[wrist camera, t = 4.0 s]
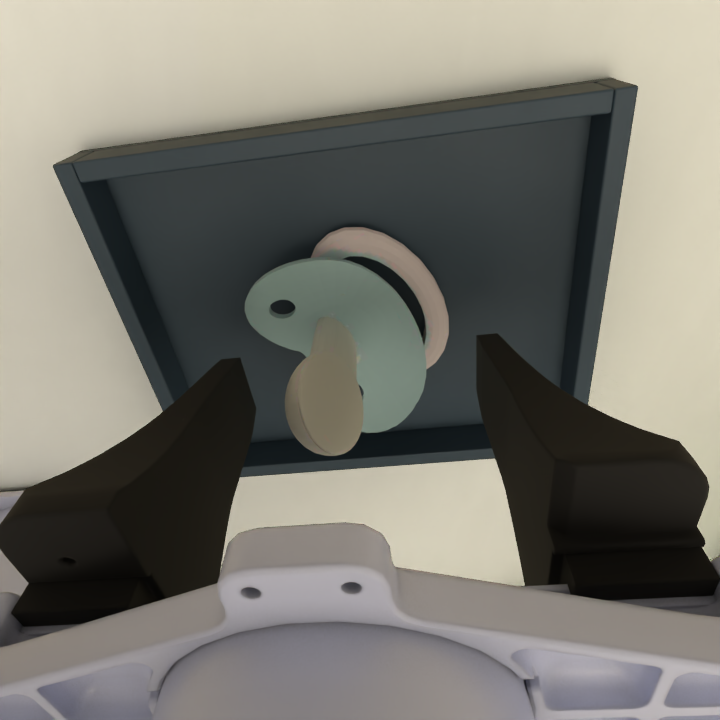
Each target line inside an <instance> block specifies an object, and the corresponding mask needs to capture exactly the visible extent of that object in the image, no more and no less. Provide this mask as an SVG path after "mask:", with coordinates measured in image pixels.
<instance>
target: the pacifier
mask: <svg viewBox="0 0 720 720" xmlns="http://www.w3.org/2000/svg"><path fill="white" fill-rule="evenodd" d="M349 256H363V257H367V258H370V259H373V260H376V261H378V262H380V263H382V264H384V265H385V266H387V267H389V268H391V269H392V270H393V271H394V272H395V273H397V274H398V275H399V276H400V277H401V278H402V279H403V280H404V281H405V282H406V283H407V285H408V286H409V287H410V288H411V290H412V291H413V292H414V294H415V296H416V298H417V299H418V301H419V303H420V305H421V307H422V310H423V314H424V318H425V329H424V333H423V338H422V337H421V334H420V331H419V328H418V326H417V324H416V321H415V319H414V317H413V315H412V314H411V312H410V310H409V308H408V307H407V305H406V304H405V302H404V301H403V299H402V298H401V297H400V295H399V294H398V293H397V292H396V291H395V289H394V288H393V287H392V286H390V285H389V284H388V283H387V282H386V281H385V280H384V279H382V278H381V277H380V276H379V275H377V274H376V273H374V272H373V271H371V270H369V269H367V268H366V267H364V266H362V265H360V264H357V263H354V262H351V261H348V260H344V258H346V257H349ZM278 300H289V301H291V302H292V303H293V304H294V305H295V310H294V311H292V312H291V313H289V314H277V313H275V312H273V311H272V309H271V307H270V305H271V304H272V303H273V302H275V301H278ZM245 313H246V316H247V319H248V321H249V323H250V324H251V326H252V327H253V328H254V329H255V330H256V331H257V332H258V333H259V334H261V335H262V336H264V337H265V338H267V339H268V340H270V341H272V342H274V343H276V344H278V345H280V346H283V347H285V348H288V349H290V350H294V351H300V352H301V353H303V354H304V355H305V356H306V358H305V359H304V360H303V361H302V362H301V363H300V364H299V365H298V366H297V368H296V369H295V371H294V372H293V374H292V375H291V377H290V380H289V382H288V385H287V389H286V394H285V412H286V418H287V421H288V424H289V427H290V429H291V431H292V433H293V434H294V436H295V437H296V438H297V440H298V441H299V442H300V443H301V444H302V445H303V446H304V447H306V448H307V449H309V450H311V451H312V452H314V453H317V454H321V455H324V456H337V455H341V454H344V453H346V452H348V451H349V450H351V449H352V448H353V446H354V445H355V444H356V442H357V441H358V439H359V436H360V434H361V432H366V433H378V432H382V431H386V430H389V429H390V428H392V427H395V426H397V425H398V424H399V423H401V422H402V421H403V420H404V419H406V417H407V416H408V415H409V414H410V413H411V412H412V411H413V409H414V407H415V405H416V403H417V402H418V401H419V399H420V396H421V394H422V392H423V390H424V385H425V380H426V369H428V368H429V367H431V366H432V365H433V364H435V363H436V362H437V360H438V359H439V357H440V356H441V354H442V353H443V351H444V350H445V346H446V342H447V339H448V335H449V316H448V312H447V308H446V304H445V300H444V297H443V295H442V293H441V291H440V289H439V287H438V285H437V283H436V281H435V278H434V277H433V276H432V274H431V273H430V272H429V270H428V269H427V268H426V266H425V265H424V264H423V262H422V261H421V260H420V259H419V258H418V257H417V256H416V255H415V254H413V253H412V252H411V251H410V250H409V249H408V248H407V247H406V246H404V245H403V244H402V243H400V242H398V241H397V240H395V239H393V238H391V237H390V236H388V235H386V234H384V233H382V232H378V231H375V230H371V229H368V228H364V227H344V228H341V229H339V230H336V231H334V232H331V233H328V234H327V235H326V236H325V237H324V238H323V239H322V240H321V241H320V242H319V243H318V244H317V245H316V247H315V249H314V251H313V254H312V256H311V258H308V259H301V260H297V261H293V262H289V263H286V264H284V265H281V266H279V267H277V268H275V269H273V270H271V271H269V272H268V273H266V274H264V275H263V276H262V277H261V278H260V279H259V280H257V281H256V282H255V284H254V285H253V286H252V288H251V289H250V291H249V293H248V296H247V298H246V301H245ZM358 384H359V385H360V386H361V387H362V389H363V391H364V394H363V396H362V395H361V391H360V388H359V385H358Z"/></svg>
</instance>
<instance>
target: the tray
mask: <svg viewBox="0 0 720 720" xmlns="http://www.w3.org/2000/svg"><path fill="white" fill-rule="evenodd" d="M637 90H638V86H636V85H633V84H630V83H626V82H623V81H619V80H616V79H614V78H607V79H599V80H592V81H585V82H578V83H570V84H563V85H556V86H549V87H541V88H534V89H527V90H520V91H513V92H505V93H498V94H491V95H484V96H476V97H469V98H462V99H455V100H447V101H440V102H433V103H426V104H418V105H411V106H404V107H397V108H389V109H382V110H375V111H368V112H360V113H353V114H346V115H339V116H331V117H324V118H317V119H310V120H302V121H295V122H288V123H281V124H273V125H266V126H259V127H252V128H244V129H237V130H230V131H223V132H215V133H208V134H201V135H194V136H186V137H179V138H172V139H165V140H157V141H150V142H143V143H136V144H128V145H121V146H114V147H107V148H99V149H92V150H85V151H80V152H78V153H77V154H75V155H73V156H71V157H69V158H66V159H64V160H62V161H60V162H58V163H56V164H54V165H53V168H54V170H55V173H56V175H57V177H58V179H59V182H60V184H61V186H62V188H63V190H64V193H65V195H66V197H67V199H68V201H69V204H70V206H71V208H72V210H73V213H74V215H75V217H76V219H77V221H78V224H79V226H80V228H81V230H82V232H83V235H84V237H85V239H86V241H87V244H88V246H89V248H90V250H91V252H92V255H93V257H94V259H95V261H96V264H97V266H98V268H99V270H100V272H101V275H102V277H103V279H104V281H105V283H106V286H107V288H108V290H109V292H110V295H111V297H112V299H113V301H114V303H115V306H116V308H117V310H118V312H119V315H120V317H121V319H122V321H123V323H124V326H125V328H126V330H127V332H128V334H129V337H130V339H131V341H132V343H133V346H134V348H135V350H136V352H137V354H138V357H139V359H140V361H141V363H142V366H143V368H144V370H145V372H146V374H147V377H148V379H149V381H150V383H151V385H152V388H153V390H154V392H155V394H156V397H157V399H158V401H159V403H160V405H161V408H162V410H163V411H164V410H166V409H167V408H168V407H169V406H170V405H171V404H173V403H174V402H175V401H176V400H177V399H179V398H180V397H181V396H182V395H183V394H184V393H185V392H186V391H187V390H188V389H189V388H190V387H192V386H193V385H194V384H195V383H196V382H197V381H198V380H199V379H200V378H201V377H202V376H203V375H204V374H205V373H206V372H207V371H208V370H210V369H211V368H212V367H213V366H214V365H215V364H216V363H217V362H219V361H220V360H221V359H230V358H240V359H241V362H242V365H243V368H244V371H245V374H246V377H247V381H248V384H249V387H250V390H251V393H252V396H253V400H254V403H255V406H256V414H255V422H254V428H253V434H252V438H251V442H250V445H249V449H248V452H247V455H246V459H245V462H244V465H243V468H242V471H241V475H240V477H249V476H262V475H276V474H289V473H303V472H316V471H330V470H344V469H357V468H371V467H384V466H398V465H411V464H425V463H438V462H452V461H465V460H479V459H493V458H495V456H494V453H493V450H492V447H491V444H490V441H489V438H488V435H487V432H486V429H485V426H484V423H483V420H482V416H481V411H480V407H479V401H478V396H477V391H476V335H484V334H495V333H498V334H499V335H500V336H501V337H502V338H503V339H504V340H505V341H506V342H507V343H508V344H509V345H510V346H511V347H512V348H513V349H514V350H515V351H516V352H517V353H518V354H519V355H520V356H521V357H522V358H523V359H524V360H526V361H527V362H528V363H529V364H530V365H531V366H532V367H534V368H535V369H536V370H537V371H538V372H539V373H540V374H542V375H543V376H544V377H545V378H547V379H548V380H549V381H551V382H552V383H553V384H555V385H556V386H558V387H559V388H560V389H562V390H563V391H565V392H567V393H568V394H570V395H571V396H573V397H575V398H576V399H578V400H579V401H581V402H583V403H585V404H587V405H588V399H589V393H590V387H591V381H592V374H593V368H594V362H595V355H596V349H597V343H598V336H599V330H600V324H601V317H602V311H603V305H604V299H605V292H606V286H607V280H608V273H609V267H610V261H611V254H612V248H613V242H614V236H615V229H616V223H617V217H618V210H619V204H620V198H621V191H622V185H623V179H624V172H625V166H626V160H627V154H628V147H629V141H630V135H631V128H632V122H633V116H634V109H635V103H636V97H637ZM344 227H364V228H368V229H371V230H375V231H378V232H382V233H384V234H386V235H388V236H390V237H391V238H393V239H395V240H397V241H398V242H400V243H402V244H403V245H404V246H406V247H407V248H408V249H409V250H410V251H411V252H412V253H413V254H415V255H416V256H417V257H418V258H419V259H420V260H421V261H422V262H423V264H424V265H425V266H426V268H427V269H428V270H429V272H430V273H431V274H432V276H433V277H434V278H435V281H436V283H437V285H438V287H439V289H440V291H441V293H442V295H443V297H444V300H445V304H446V308H447V312H448V316H449V335H448V339H447V342H446V346H445V350H444V351H443V353H442V354H441V356H440V357H439V359H438V360H437V362H436V363H435V364H433V365H432V366H431V367H429V368H428V369H426V380H425V385H424V390H423V392H422V394H421V396H420V399H419V401H418V402H417V403H416V405H415V407H414V409H413V411H412V412H411V413H410V414H409V415H408V416H407V417H406V419H404V420H403V421H402V422H401V423H399V424H398V425H397V426H395V427H392V428H390V429H389V430H386V431H382V432H378V433H366V432H361V434H360V436H359V439H358V441H357V442H356V444H355V445H354V446H353V448H352V449H351V450H349V451H348V452H346V453H344V454H341V455H337V456H324V455H321V454H317V453H314V452H312V451H311V450H309V449H307V448H306V447H304V446H303V445H302V444H301V443H300V442H299V441H298V440H297V438H296V437H295V436H294V434H293V433H292V431H291V429H290V427H289V424H288V421H287V418H286V412H285V394H286V389H287V385H288V382H289V380H290V377H291V375H292V374H293V372H294V371H295V369H296V368H297V366H298V365H299V364H300V363H301V362H302V361H303V360H304V359H305V358H306V356H305V355H304V354H303V353H301V352H300V351H294V350H290V349H288V348H285V347H283V346H280V345H278V344H276V343H274V342H272V341H270V340H268V339H267V338H265V337H264V336H262V335H261V334H259V333H258V332H257V331H256V330H255V329H254V328H253V327H252V326H251V324H250V323H249V321H248V319H247V316H246V313H245V301H246V298H247V296H248V293H249V291H250V289H251V288H252V286H253V285H254V284H255V282H256V281H257V280H259V279H260V278H261V277H262V276H263V275H264V274H266V273H268V272H269V271H271V270H273V269H275V268H277V267H279V266H281V265H284V264H286V263H289V262H293V261H297V260H301V259H308V258H311V256H312V254H313V251H314V249H315V247H316V245H317V244H318V243H319V242H320V241H321V240H322V239H323V238H324V237H325V236H326V235H327V234H328V233H331V232H334V231H336V230H339V229H341V228H344ZM344 260H348V261H351V262H354V263H357V264H360V265H362V266H364V267H366V268H367V269H369V270H371V271H373V272H374V273H376V274H377V275H379V276H380V277H381V278H382V279H384V280H385V281H386V282H387V283H388V284H389V285H390V286H392V287H393V288H394V289H395V291H396V292H397V293H398V294H399V295H400V297H401V298H402V299H403V301H404V302H405V304H406V305H407V307H408V308H409V310H410V312H411V314H412V315H413V317H414V319H415V321H416V324H417V326H418V328H419V331H420V334H421V337H422V338H423V333H424V329H425V318H424V314H423V310H422V307H421V305H420V303H419V301H418V299H417V298H416V296H415V294H414V292H413V291H412V290H411V288H410V287H409V286H408V285H407V283H406V282H405V281H404V280H403V279H402V278H401V277H400V276H399V275H398V274H397V273H395V272H394V271H393V270H392V269H391V268H389V267H387V266H385V265H384V264H382V263H380V262H378V261H376V260H373V259H370V258H367V257H363V256H349V257H346V258H344ZM270 307H271V309H272V311H273V312H275V313H277V314H289V313H291V312H292V311H294V310H295V305H294V304H293V303H292V302H291V301H289V300H278V301H275V302H273V303H272V304H271V305H270ZM358 385H359V384H358ZM359 388H360V391H361V395H362V396H363V394H364V391H363V389H362V387H361V386H360V385H359Z"/></svg>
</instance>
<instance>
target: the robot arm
mask: <svg viewBox="0 0 720 720" xmlns="http://www.w3.org/2000/svg"><path fill="white" fill-rule="evenodd" d="M476 391H477V396H478V401H479V407H480V411H481V416H482V420H483V423H484V426H485V429H486V432H487V435H488V438H489V441H490V444H491V447H492V450H493V453H494V456H495V459H496V462H497V464H498V467H499V470H500V473H501V476H502V480H503V483H504V487H505V490H506V495H507V499H508V504H509V508H510V513H511V517H512V522H513V527H514V532H515V537H516V541H517V546H518V551H519V556H520V562H521V567H522V572H523V577H524V582H525V586H513V585H506V584H500V583H494V582H487V581H481V580H475V579H468V578H462V577H456V576H449V575H443V574H437V573H430V572H424V571H417V570H411V569H405V568H398V567H395V566H394V564H393V562H392V558H391V552H390V546H389V544H388V543H387V541H386V539H385V538H384V536H383V535H382V534H381V533H380V532H378V531H376V530H374V529H372V528H370V527H368V526H366V525H364V524H355V523H346V522H345V523H329V524H313V525H296V526H280V527H264V528H256V529H252V530H248V531H244V532H241V533H238V534H237V535H236V536H235V537H234V538H233V539H232V540H231V541H230V542H229V543H228V546H227V550H226V554H225V557H224V561H223V564H222V568H221V561H222V555H223V549H224V543H225V536H226V531H227V526H228V520H229V515H230V510H231V505H232V501H233V498H234V494H235V491H236V487H237V484H238V481H239V478H240V475H241V471H242V468H243V465H244V462H245V459H246V455H247V452H248V449H249V445H250V442H251V438H252V434H253V428H254V422H255V414H256V406H255V403H254V400H253V396H252V393H251V390H250V387H249V384H248V381H247V377H246V374H245V371H244V368H243V365H242V362H241V359H240V358H230V359H221V360H220V361H219V362H217V363H216V364H215V365H214V366H213V367H212V368H211V369H210V370H208V371H207V372H206V373H205V374H204V375H203V376H202V377H201V378H200V379H199V380H198V381H197V382H196V383H195V384H194V385H193V386H192V387H190V388H189V389H188V390H187V391H186V392H185V393H184V394H183V395H182V396H181V397H180V398H179V399H177V400H176V401H175V402H174V403H173V404H171V405H170V406H169V407H168V408H167V409H166V410H164V411H163V412H162V413H161V414H160V415H159V416H157V417H156V418H155V419H153V420H152V421H151V422H150V423H148V424H147V425H146V426H144V427H143V428H141V429H140V430H138V431H137V432H136V433H134V434H133V435H131V436H130V437H128V438H127V439H125V440H123V441H122V442H120V443H118V444H117V445H115V446H114V447H112V448H110V449H109V450H107V451H105V452H104V453H102V454H100V455H98V456H97V457H95V458H93V459H91V460H89V461H87V462H85V463H83V464H81V465H79V466H77V467H75V468H73V469H71V470H69V471H67V472H65V473H62V474H60V475H58V476H55V477H53V478H51V479H48V480H46V481H44V482H41V483H39V484H36V485H34V486H32V487H29V488H26V489H25V490H23V491H9V492H0V720H720V556H719V557H717V558H714V559H713V560H712V561H711V562H710V560H709V559H708V557H707V555H706V554H705V552H704V550H703V549H702V547H704V545H705V540H704V537H703V536H702V534H701V533H700V531H699V529H698V528H697V524H698V521H699V519H700V516H701V513H702V511H703V508H704V505H705V503H706V500H707V497H708V492H709V484H708V481H707V477H706V476H705V474H704V473H703V472H702V470H701V469H700V467H699V466H698V464H697V463H696V462H695V460H694V459H693V457H692V456H691V455H690V454H689V453H688V451H687V450H686V449H685V448H684V447H683V446H682V444H681V443H680V442H679V441H677V440H673V439H670V438H667V437H664V436H661V435H658V434H654V433H651V432H648V431H645V430H642V429H639V428H637V427H634V426H632V425H629V424H627V423H624V422H622V421H619V420H617V419H615V418H613V417H610V416H608V415H606V414H604V413H602V412H600V411H598V410H596V409H594V408H592V407H590V406H588V405H587V404H585V403H583V402H581V401H579V400H578V399H576V398H575V397H573V396H571V395H570V394H568V393H567V392H565V391H563V390H562V389H560V388H559V387H558V386H556V385H555V384H553V383H552V382H551V381H549V380H548V379H547V378H545V377H544V376H543V375H542V374H540V373H539V372H538V371H537V370H536V369H535V368H534V367H532V366H531V365H530V364H529V363H528V362H527V361H526V360H524V359H523V358H522V357H521V356H520V355H519V354H518V353H517V352H516V351H515V350H514V349H513V348H512V347H511V346H510V345H509V344H508V343H507V342H506V341H505V340H504V339H503V338H502V337H501V336H500V335H499V334H498V333H495V334H484V335H476ZM220 568H221V572H220Z"/></svg>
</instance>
